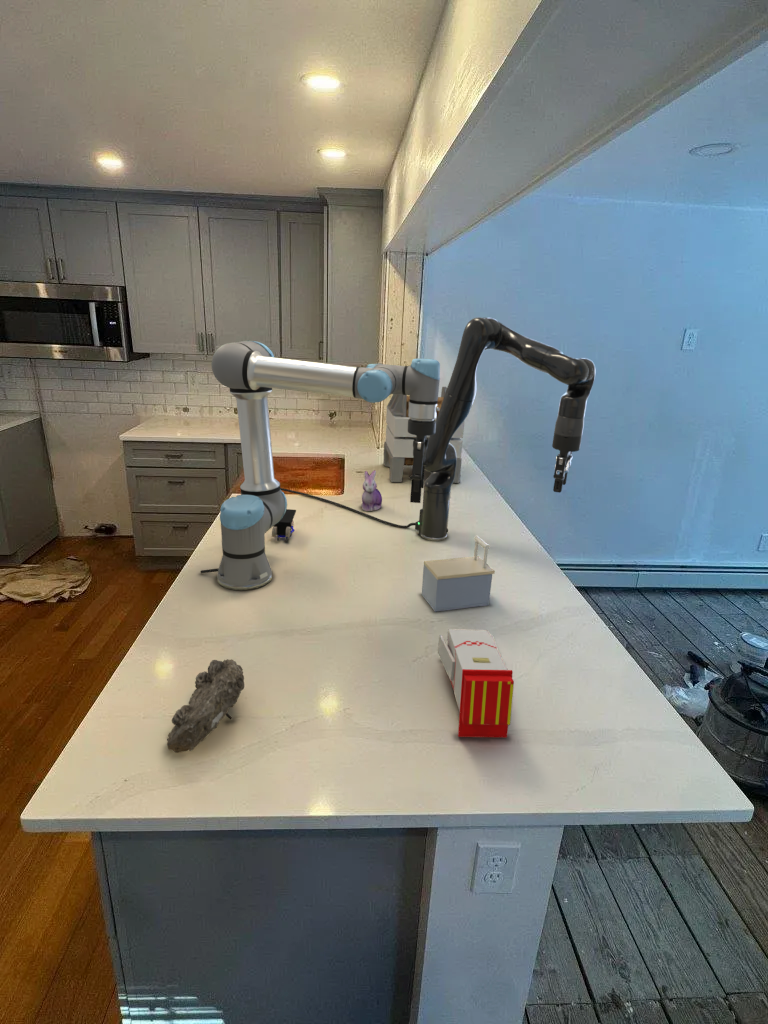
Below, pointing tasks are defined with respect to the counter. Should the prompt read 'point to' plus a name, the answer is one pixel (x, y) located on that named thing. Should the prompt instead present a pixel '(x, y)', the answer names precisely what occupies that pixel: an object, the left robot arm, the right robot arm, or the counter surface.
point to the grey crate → (409, 438)
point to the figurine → (371, 493)
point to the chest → (456, 591)
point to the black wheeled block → (284, 525)
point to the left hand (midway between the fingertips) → (417, 494)
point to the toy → (478, 682)
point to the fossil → (206, 705)
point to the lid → (461, 564)
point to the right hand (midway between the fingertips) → (559, 487)
